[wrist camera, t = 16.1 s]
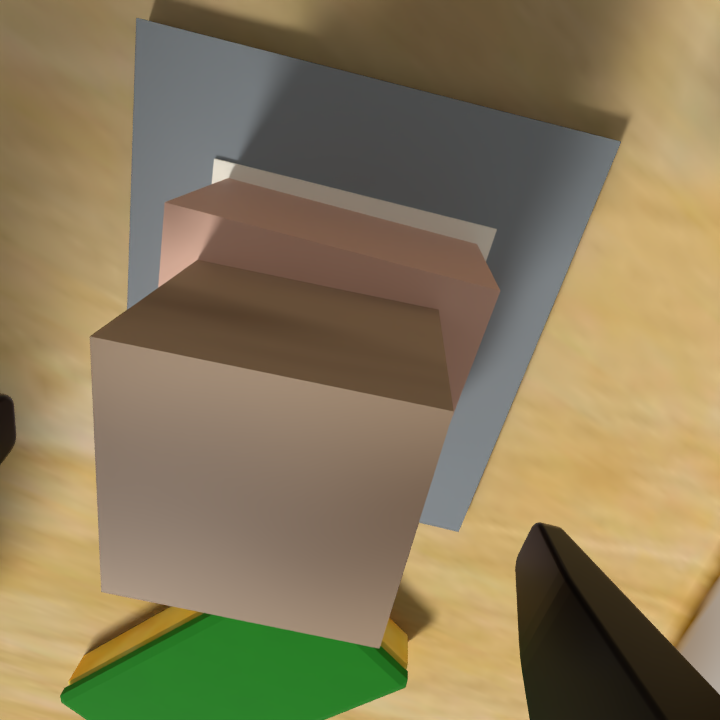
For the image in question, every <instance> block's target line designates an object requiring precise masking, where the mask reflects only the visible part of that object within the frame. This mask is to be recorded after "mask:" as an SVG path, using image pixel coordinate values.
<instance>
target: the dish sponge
mask: <svg viewBox="0 0 720 720" xmlns="http://www.w3.org/2000/svg"><path fill="white" fill-rule="evenodd" d="M407 665H408V635H407V634H406V633H405V632H403V631H402V630H401V629H400V628H399V627H398V626H397V625H396V624H395V623H394V622H393V621H392V620H391V619H390V618H389V620H388V623H387V626H386V629H385V632H384V636H383V639H382V642H381V645H380V648H374V647H369V646H364V645H360V644H355V643H350V642H345V641H340V640H335V639H330V638H325V637H320V636H315V635H310V634H305V633H301V632H296V631H291V630H286V629H281V628H276V627H271V626H266V625H261V624H256V623H251V622H246V621H242V620H237V619H232V618H227V617H222V616H217V615H212V614H207V613H202V612H197V611H192V610H188V609H183V608H178V607H173V606H171V607H169V608H167V609H165V610H164V611H162V612H160V613H158V614H156V615H155V616H153V617H151V618H149V619H148V620H146V621H144V622H142V623H140V624H139V625H137V626H135V627H133V628H132V629H130V630H128V631H126V632H124V633H123V634H121V635H119V636H117V637H116V638H114V639H112V640H110V641H108V642H107V643H105V644H103V645H101V646H100V647H98V648H96V649H94V650H92V651H91V652H89V653H87V654H85V655H84V656H83V658H82V660H81V661H80V663H79V665H78V666H77V668H76V670H75V672H74V673H73V675H72V677H71V678H70V680H69V686H67V687H66V688H64V690H63V692H62V693H61V695H60V697H61V702H62V703H63V704H65V705H66V706H67V707H69V708H70V709H72V710H73V711H75V712H76V713H78V714H79V715H80V716H82V717H83V718H85V719H86V720H325V719H328V718H330V717H333V716H335V715H338V714H340V713H343V712H345V711H348V710H350V709H353V708H355V707H358V706H360V705H363V704H365V703H368V702H370V701H373V700H375V699H378V698H380V697H383V696H385V695H388V694H390V693H393V692H395V691H398V690H400V689H403V688H405V687H406V684H407V680H408V671H407V670H406V669H407Z"/></svg>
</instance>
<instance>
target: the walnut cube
mask: <svg viewBox="0 0 720 720" xmlns="http://www.w3.org/2000/svg"><path fill="white" fill-rule="evenodd" d="M90 350H91V373H92V395H93V417H94V439H95V461H96V483H97V505H98V528H99V550H100V572H101V592H104V593H109V594H114V595H119V596H124V597H129V598H133V599H138V600H143V601H148V602H153V603H158V604H163V605H168V606H173V607H178V608H183V609H188V610H192V611H197V612H202V613H207V614H212V615H217V616H222V617H227V618H232V619H237V620H242V621H246V622H251V623H256V624H261V625H266V626H271V627H276V628H281V629H286V630H291V631H296V632H301V633H305V634H310V635H315V636H320V637H325V638H330V639H335V640H340V641H345V642H350V643H355V644H360V645H364V646H369V647H374V648H380V645H381V642H382V639H383V636H384V632H385V629H386V626H387V623H388V620H389V617H390V613H391V610H392V607H393V604H394V601H395V597H396V594H397V591H398V588H399V585H400V581H401V578H402V575H403V572H404V569H405V565H406V562H407V559H408V556H409V553H410V549H411V546H412V543H413V540H414V537H415V533H416V530H417V527H418V524H419V521H420V517H421V514H422V511H423V508H424V505H425V501H426V498H427V495H428V492H429V489H430V485H431V482H432V479H433V476H434V473H435V470H436V466H437V463H438V460H439V457H440V454H441V450H442V447H443V444H444V441H445V438H446V434H447V431H448V428H449V425H450V422H451V418H452V415H453V412H454V410H453V403H452V397H451V390H450V383H449V376H448V370H447V363H446V356H445V349H444V343H443V336H442V329H441V322H440V316H439V310H438V309H433V308H428V307H423V306H418V305H414V304H409V303H404V302H399V301H394V300H389V299H385V298H380V297H375V296H370V295H365V294H360V293H356V292H351V291H346V290H341V289H336V288H331V287H327V286H322V285H317V284H312V283H307V282H302V281H298V280H293V279H288V278H283V277H278V276H273V275H269V274H264V273H259V272H254V271H249V270H245V269H240V268H235V267H230V266H225V265H220V264H216V263H211V262H206V261H201V260H196V261H195V262H194V263H192V264H191V265H189V266H188V267H187V268H185V269H184V270H182V271H181V272H180V273H178V274H177V275H175V276H174V277H173V278H171V279H170V280H168V281H167V282H166V283H164V284H163V285H161V286H160V287H159V288H157V289H156V290H154V291H153V292H152V293H150V294H149V295H147V296H146V297H145V298H143V299H142V300H140V301H139V302H137V303H136V304H135V305H133V306H132V307H130V308H129V309H128V310H126V311H125V312H123V313H122V314H121V315H119V316H118V317H116V318H115V319H114V320H112V321H111V322H109V323H108V324H107V325H105V326H104V327H102V328H101V329H100V330H98V331H97V332H95V333H94V334H93V335H91V336H90Z"/></svg>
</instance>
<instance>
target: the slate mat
mask: <svg viewBox="0 0 720 720" xmlns="http://www.w3.org/2000/svg"><path fill="white" fill-rule="evenodd" d="M620 143H621V141H617V140H613V139H609V138H605V137H601V136H597V135H593V134H589V133H585V132H581V131H578V130H574V129H570V128H566V127H562V126H558V125H554V124H550V123H546V122H542V121H538V120H535V119H531V118H527V117H523V116H519V115H515V114H511V113H507V112H503V111H499V110H495V109H492V108H488V107H484V106H480V105H476V104H472V103H468V102H464V101H460V100H456V99H452V98H448V97H445V96H441V95H437V94H433V93H429V92H425V91H421V90H417V89H413V88H409V87H405V86H402V85H398V84H394V83H390V82H386V81H382V80H378V79H374V78H370V77H366V76H362V75H359V74H355V73H351V72H347V71H343V70H339V69H335V68H331V67H327V66H323V65H319V64H316V63H312V62H308V61H304V60H300V59H296V58H292V57H288V56H284V55H280V54H276V53H272V52H269V51H265V50H261V49H257V48H253V47H249V46H245V45H241V44H237V43H233V42H229V41H226V40H222V39H218V38H214V37H210V36H206V35H202V34H198V33H194V32H190V31H186V30H183V29H179V28H175V27H171V26H167V25H163V24H159V23H155V22H151V21H147V20H143V19H139V18H136V47H135V79H134V110H133V142H132V174H131V206H130V238H129V270H128V302H127V310H128V309H129V308H130V307H132V306H133V305H135V304H136V303H137V302H139V301H140V300H142V299H143V298H145V297H146V296H147V295H149V294H150V293H152V292H153V291H154V290H156V289H157V288H158V284H159V271H160V257H161V244H162V230H163V217H164V204H165V202H167V201H169V200H172V199H174V198H177V197H180V196H182V195H185V194H188V193H190V192H193V191H195V190H198V189H201V188H203V187H206V186H208V185H211V184H214V183H216V182H219V181H222V180H224V179H227V178H230V179H234V180H238V181H241V182H245V183H249V184H253V185H257V186H260V187H264V188H268V189H272V190H275V191H279V192H283V193H287V194H290V195H294V196H298V197H302V198H305V199H309V200H313V201H317V202H320V203H324V204H328V205H332V206H335V207H339V208H343V209H347V210H351V211H354V212H358V213H362V214H366V215H369V216H373V217H377V218H381V219H384V220H388V221H392V222H396V223H399V224H403V225H407V226H411V227H414V228H418V229H422V230H426V231H430V232H433V233H437V234H441V235H445V236H448V237H452V238H456V239H460V240H463V241H467V242H471V243H475V244H477V245H478V247H479V249H480V251H481V253H482V255H483V257H484V259H485V261H486V263H487V265H488V267H489V269H490V271H491V273H492V275H493V277H494V279H495V281H496V283H497V285H498V287H499V289H500V293H499V296H498V299H497V301H496V304H495V307H494V309H493V312H492V314H491V317H490V320H489V322H488V325H487V327H486V330H485V333H484V335H483V338H482V341H481V343H480V346H479V348H478V351H477V354H476V356H475V359H474V362H473V364H472V367H471V369H470V372H469V375H468V377H467V380H466V382H465V385H464V388H463V390H462V393H461V396H460V398H459V401H458V403H457V406H456V409H455V411H454V414H453V417H452V419H451V422H450V425H449V428H448V431H447V434H446V438H445V441H444V444H443V447H442V450H441V454H440V457H439V460H438V463H437V466H436V470H435V473H434V476H433V479H432V482H431V485H430V489H429V492H428V495H427V498H426V501H425V505H424V508H423V511H422V514H421V517H420V521H419V523H423V524H427V525H432V526H436V527H440V528H444V529H449V530H453V531H457V532H459V529H460V527H461V525H462V522H463V520H464V517H465V515H466V513H467V510H468V508H469V505H470V503H471V501H472V498H473V496H474V493H475V491H476V489H477V486H478V484H479V481H480V479H481V477H482V474H483V472H484V469H485V467H486V465H487V462H488V460H489V457H490V455H491V453H492V450H493V448H494V445H495V443H496V441H497V438H498V436H499V433H500V431H501V429H502V426H503V424H504V421H505V419H506V417H507V414H508V412H509V409H510V407H511V405H512V402H513V400H514V397H515V395H516V393H517V390H518V388H519V385H520V383H521V381H522V378H523V376H524V373H525V371H526V369H527V366H528V364H529V361H530V359H531V357H532V354H533V352H534V349H535V347H536V345H537V342H538V340H539V337H540V335H541V333H542V330H543V328H544V325H545V323H546V321H547V318H548V316H549V313H550V311H551V309H552V306H553V304H554V301H555V299H556V297H557V294H558V292H559V289H560V287H561V285H562V282H563V280H564V277H565V275H566V273H567V270H568V268H569V265H570V263H571V261H572V258H573V256H574V253H575V251H576V249H577V246H578V244H579V241H580V239H581V237H582V234H583V232H584V229H585V227H586V225H587V222H588V220H589V217H590V215H591V213H592V210H593V208H594V205H595V203H596V201H597V198H598V196H599V193H600V191H601V189H602V186H603V184H604V181H605V179H606V177H607V174H608V172H609V170H610V167H611V165H612V162H613V160H614V158H615V155H616V153H617V150H618V148H619V146H620Z"/></svg>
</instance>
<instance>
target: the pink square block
mask: <svg viewBox="0 0 720 720" xmlns="http://www.w3.org/2000/svg"><path fill="white" fill-rule="evenodd" d="M196 260H201V261H206V262H211V263H216V264H220V265H225V266H230V267H235V268H240V269H245V270H249V271H254V272H259V273H264V274H269V275H273V276H278V277H283V278H288V279H293V280H298V281H302V282H307V283H312V284H317V285H322V286H327V287H331V288H336V289H341V290H346V291H351V292H356V293H360V294H365V295H370V296H375V297H380V298H385V299H389V300H394V301H399V302H404V303H409V304H414V305H418V306H423V307H428V308H433V309H438V310H439V316H440V322H441V329H442V336H443V343H444V349H445V356H446V363H447V370H448V376H449V383H450V390H451V397H452V403H453V410H454V411H455V409H456V406H457V403H458V401H459V398H460V396H461V393H462V390H463V388H464V385H465V382H466V380H467V377H468V375H469V372H470V369H471V367H472V364H473V362H474V359H475V356H476V354H477V351H478V348H479V346H480V343H481V341H482V338H483V335H484V333H485V330H486V327H487V325H488V322H489V320H490V317H491V314H492V312H493V309H494V307H495V304H496V301H497V299H498V296H499V293H500V289H499V287H498V285H497V283H496V281H495V279H494V277H493V275H492V273H491V271H490V269H489V267H488V265H487V263H486V261H485V259H484V257H483V255H482V253H481V251H480V249H479V247H478V245H477V244H475V243H471V242H467V241H463V240H460V239H456V238H452V237H448V236H445V235H441V234H437V233H433V232H430V231H426V230H422V229H418V228H414V227H411V226H407V225H403V224H399V223H396V222H392V221H388V220H384V219H381V218H377V217H373V216H369V215H366V214H362V213H358V212H354V211H351V210H347V209H343V208H339V207H335V206H332V205H328V204H324V203H320V202H317V201H313V200H309V199H305V198H302V197H298V196H294V195H290V194H287V193H283V192H279V191H275V190H272V189H268V188H264V187H260V186H257V185H253V184H249V183H245V182H241V181H238V180H234V179H230V178H227V179H224V180H222V181H219V182H216V183H214V184H211V185H208V186H206V187H203V188H201V189H198V190H195V191H193V192H190V193H188V194H185V195H182V196H180V197H177V198H174V199H172V200H169V201H167V202H165V204H164V217H163V230H162V244H161V257H160V271H159V284H158V288H159V287H160V286H161V285H163V284H164V283H166V282H167V281H168V280H170V279H171V278H173V277H174V276H175V275H177V274H178V273H180V272H181V271H182V270H184V269H185V268H187V267H188V266H189V265H191V264H192V263H194V262H195V261H196ZM453 414H454V412H453ZM452 417H453V415H452ZM451 419H452V418H451Z"/></svg>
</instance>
